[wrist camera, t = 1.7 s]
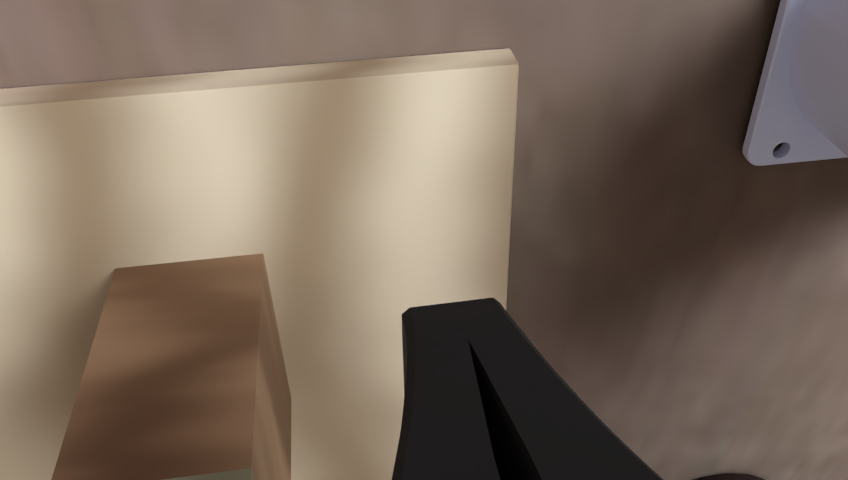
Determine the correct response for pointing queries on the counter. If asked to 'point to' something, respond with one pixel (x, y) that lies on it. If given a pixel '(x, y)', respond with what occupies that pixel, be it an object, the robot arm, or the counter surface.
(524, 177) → the counter surface
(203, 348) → the walnut block
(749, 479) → the bottle
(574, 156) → the counter surface
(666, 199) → the counter surface
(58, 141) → the birch board
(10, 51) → the counter surface
